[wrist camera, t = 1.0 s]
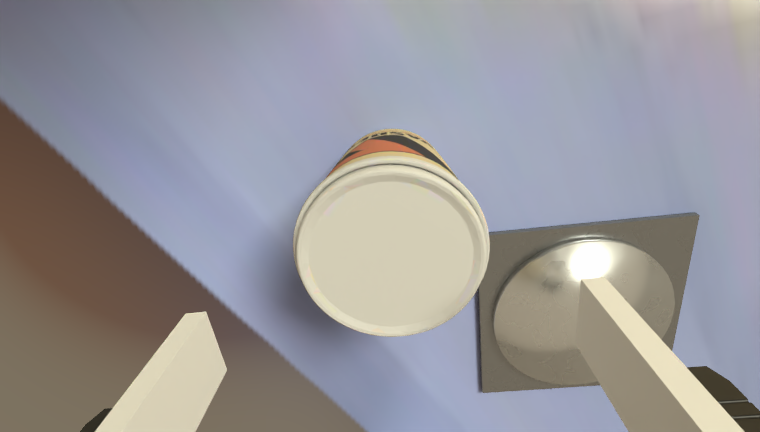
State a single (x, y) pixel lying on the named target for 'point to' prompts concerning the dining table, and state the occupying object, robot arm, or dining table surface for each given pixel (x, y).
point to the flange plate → (574, 293)
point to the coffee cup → (391, 238)
